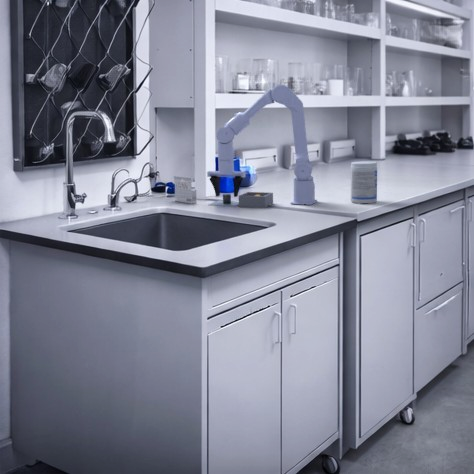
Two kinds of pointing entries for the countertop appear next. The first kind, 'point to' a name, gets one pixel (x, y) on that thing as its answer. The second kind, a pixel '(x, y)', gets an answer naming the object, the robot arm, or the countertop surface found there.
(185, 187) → the ink cartridge box
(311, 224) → the countertop surface
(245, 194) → the box
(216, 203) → the lid
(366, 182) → the supplement tub
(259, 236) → the countertop surface
